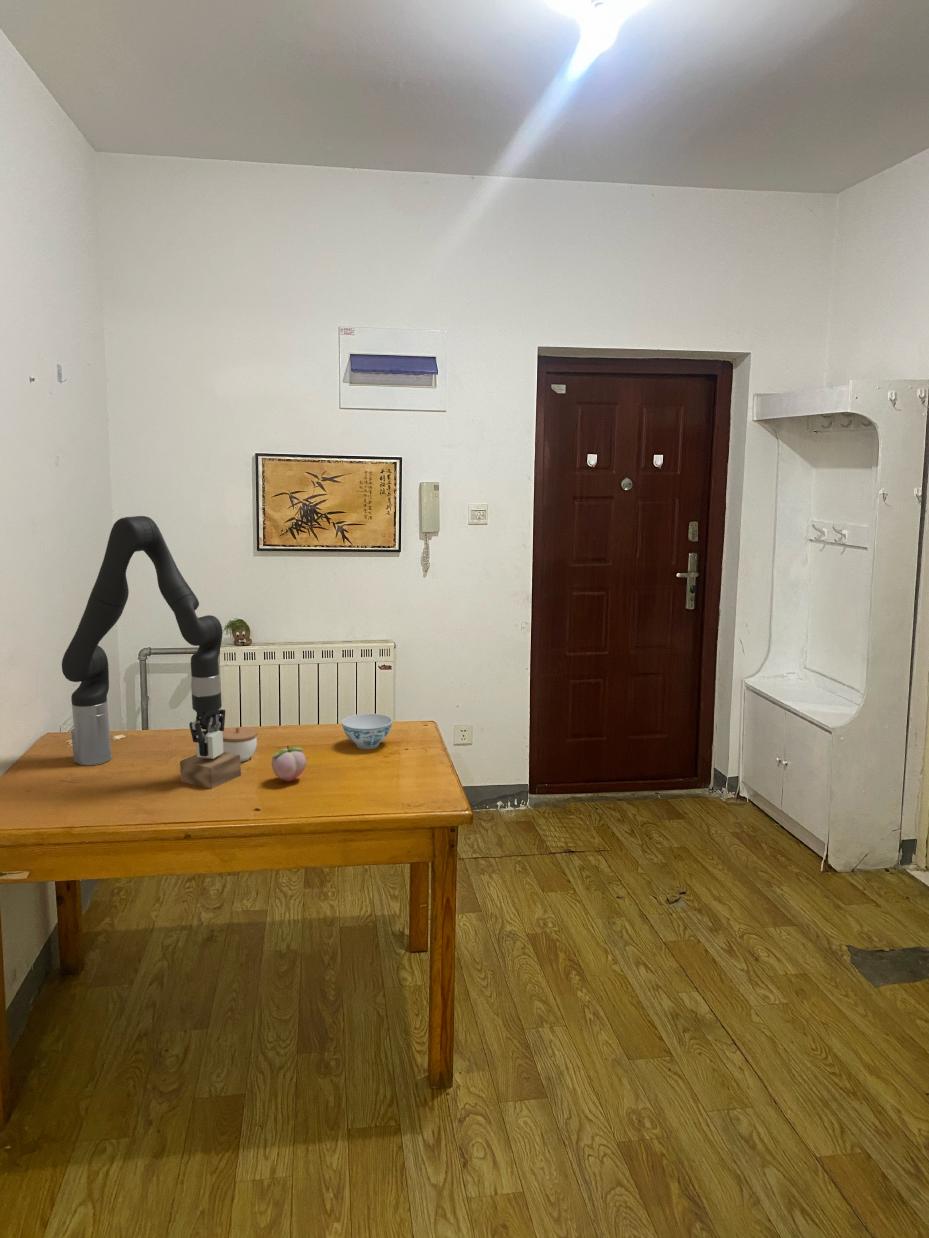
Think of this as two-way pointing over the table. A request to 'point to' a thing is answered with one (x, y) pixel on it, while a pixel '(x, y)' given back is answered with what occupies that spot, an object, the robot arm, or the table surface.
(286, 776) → the decorative fruit
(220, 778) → the walnut block
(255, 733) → the lidded jar
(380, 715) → the chinaware
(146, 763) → the table surface
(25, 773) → the table surface
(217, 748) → the off-white cube
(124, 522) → the robot arm
